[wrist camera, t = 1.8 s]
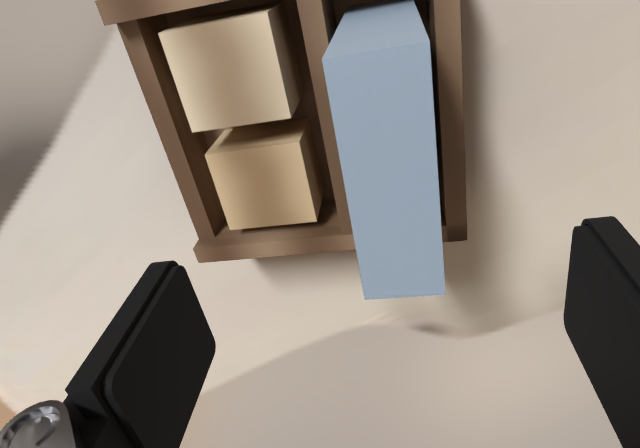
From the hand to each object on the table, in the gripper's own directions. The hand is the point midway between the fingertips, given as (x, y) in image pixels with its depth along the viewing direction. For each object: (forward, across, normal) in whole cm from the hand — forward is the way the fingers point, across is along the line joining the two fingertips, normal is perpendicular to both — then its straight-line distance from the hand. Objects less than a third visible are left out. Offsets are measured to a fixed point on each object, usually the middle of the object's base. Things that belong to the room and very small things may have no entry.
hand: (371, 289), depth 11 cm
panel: (+16, -1, 0) cm, 16 cm away
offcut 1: (+16, +6, -3) cm, 17 cm away
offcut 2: (+16, +6, +3) cm, 17 cm away
